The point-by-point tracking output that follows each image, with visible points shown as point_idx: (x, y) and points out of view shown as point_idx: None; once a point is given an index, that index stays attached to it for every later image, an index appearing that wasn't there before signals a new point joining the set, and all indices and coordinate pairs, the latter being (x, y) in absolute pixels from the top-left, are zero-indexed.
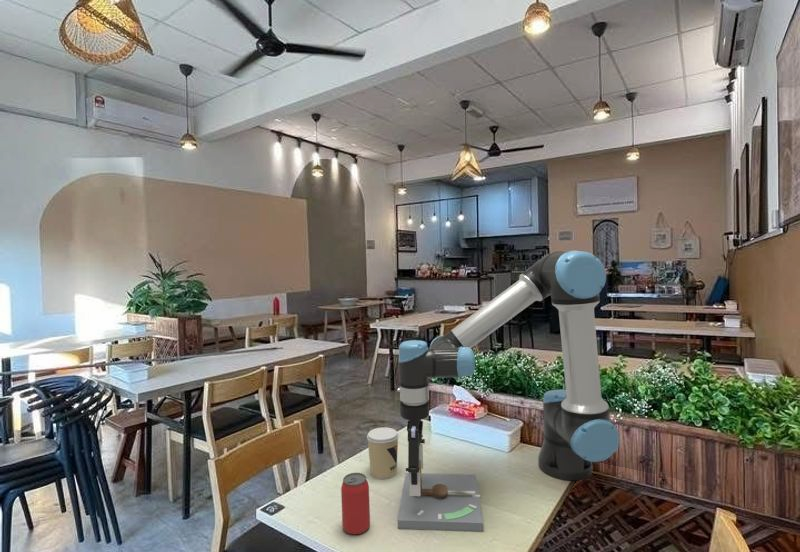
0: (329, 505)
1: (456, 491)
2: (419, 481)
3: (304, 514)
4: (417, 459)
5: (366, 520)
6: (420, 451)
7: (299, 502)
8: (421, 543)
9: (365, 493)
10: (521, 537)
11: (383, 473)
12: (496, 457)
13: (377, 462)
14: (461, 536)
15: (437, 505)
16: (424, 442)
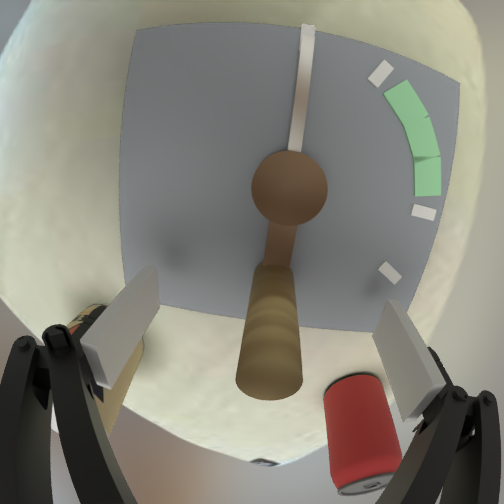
0: (263, 426)
1: (299, 110)
2: (422, 343)
3: (286, 445)
4: (497, 442)
5: (381, 393)
6: (117, 330)
7: (248, 449)
8: (454, 265)
9: (396, 447)
10: (455, 14)
11: (137, 351)
12: (43, 11)
13: (128, 386)
14: (458, 154)
15: (359, 206)
16: (59, 327)
